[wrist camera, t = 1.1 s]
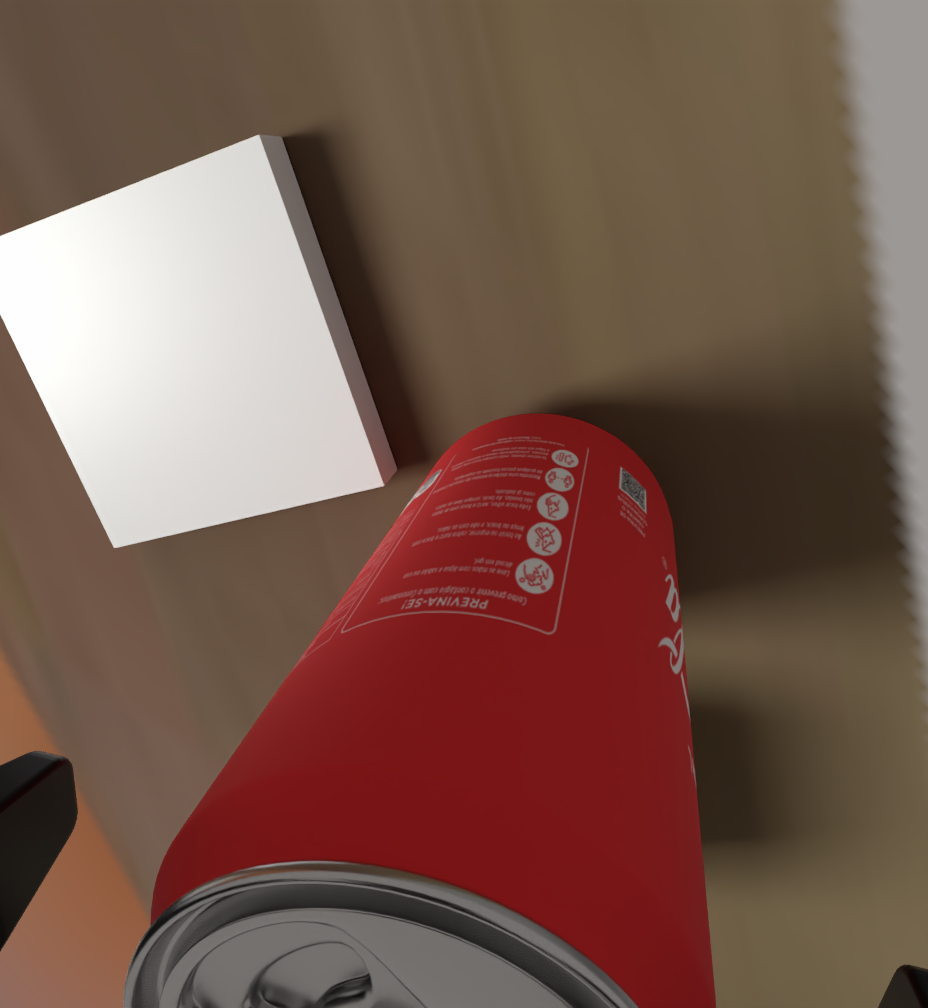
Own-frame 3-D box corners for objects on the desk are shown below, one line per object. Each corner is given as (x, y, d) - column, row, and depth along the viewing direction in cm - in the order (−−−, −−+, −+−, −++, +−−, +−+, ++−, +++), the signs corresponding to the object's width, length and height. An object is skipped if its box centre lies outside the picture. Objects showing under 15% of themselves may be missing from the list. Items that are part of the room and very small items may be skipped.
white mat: (397, 469, 18) (384, 485, 17) (138, 530, 20) (114, 547, 19) (281, 136, 15) (258, 134, 14) (3, 244, 17) (-33, 248, 16)
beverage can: (549, 345, 16) (351, 724, 5) (722, 525, 17) (876, 1200, 6) (384, 505, 18) (-8, 1014, 7) (543, 658, 19) (407, 1335, 8)
